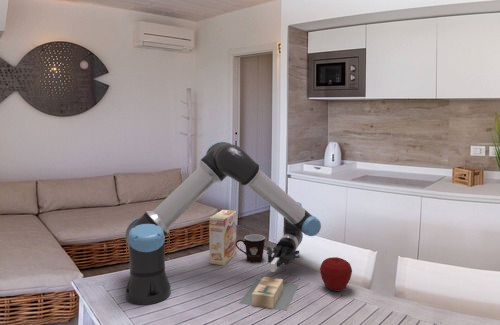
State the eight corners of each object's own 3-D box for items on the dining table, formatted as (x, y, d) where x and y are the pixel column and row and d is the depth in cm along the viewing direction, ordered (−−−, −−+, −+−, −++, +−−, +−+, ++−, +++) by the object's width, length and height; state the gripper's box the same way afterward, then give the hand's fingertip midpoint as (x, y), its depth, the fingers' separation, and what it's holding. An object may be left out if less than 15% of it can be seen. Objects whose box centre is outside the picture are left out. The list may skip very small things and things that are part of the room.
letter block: (263, 287, 146) (251, 305, 133) (263, 276, 145) (251, 293, 132) (282, 290, 144) (272, 308, 131) (283, 279, 143) (272, 296, 130)
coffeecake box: (224, 265, 167) (224, 219, 165) (208, 263, 169) (208, 217, 167) (237, 253, 181) (237, 210, 179) (222, 251, 183) (221, 209, 181)
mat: (238, 304, 134) (238, 303, 134) (256, 280, 153) (256, 279, 153) (286, 311, 129) (286, 310, 129) (298, 285, 148) (298, 284, 148)
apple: (316, 292, 143) (316, 260, 142) (324, 280, 153) (324, 250, 151) (347, 298, 138) (349, 265, 137) (354, 286, 148) (355, 255, 147)
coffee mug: (268, 259, 174) (268, 236, 173) (258, 265, 167) (258, 242, 166) (245, 254, 180) (245, 232, 179) (234, 260, 173) (234, 237, 172)
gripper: (303, 256, 163) (290, 280, 141) (271, 253, 167) (254, 275, 144) (303, 238, 162) (291, 259, 140) (271, 235, 166) (254, 255, 143)
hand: (272, 267), depth 142 cm, fingers closed
